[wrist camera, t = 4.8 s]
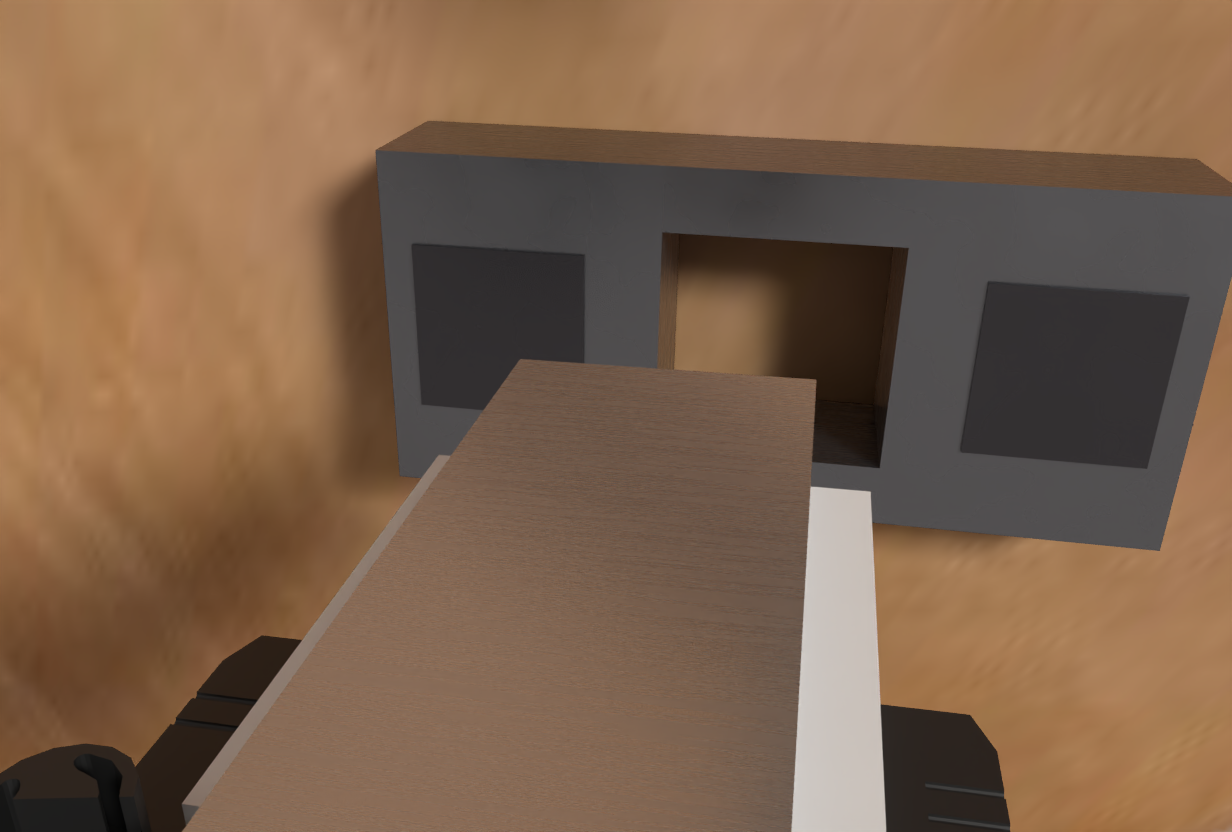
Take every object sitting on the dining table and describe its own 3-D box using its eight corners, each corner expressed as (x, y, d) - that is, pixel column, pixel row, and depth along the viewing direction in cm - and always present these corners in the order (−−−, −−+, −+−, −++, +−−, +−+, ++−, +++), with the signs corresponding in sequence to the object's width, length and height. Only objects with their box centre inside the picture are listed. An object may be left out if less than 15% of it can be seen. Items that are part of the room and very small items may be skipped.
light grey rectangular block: (529, 604, 18) (209, 1315, 9) (520, 358, 16) (109, 933, 7) (795, 633, 17) (744, 1436, 8) (816, 379, 15) (779, 1045, 6)
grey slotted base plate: (443, 416, 34) (398, 477, 31) (427, 121, 31) (374, 151, 27) (1121, 477, 32) (1160, 552, 28) (1197, 159, 28) (1253, 198, 24)
